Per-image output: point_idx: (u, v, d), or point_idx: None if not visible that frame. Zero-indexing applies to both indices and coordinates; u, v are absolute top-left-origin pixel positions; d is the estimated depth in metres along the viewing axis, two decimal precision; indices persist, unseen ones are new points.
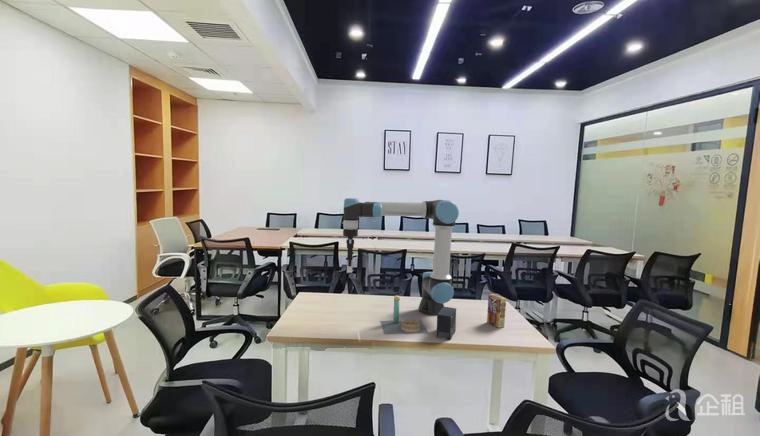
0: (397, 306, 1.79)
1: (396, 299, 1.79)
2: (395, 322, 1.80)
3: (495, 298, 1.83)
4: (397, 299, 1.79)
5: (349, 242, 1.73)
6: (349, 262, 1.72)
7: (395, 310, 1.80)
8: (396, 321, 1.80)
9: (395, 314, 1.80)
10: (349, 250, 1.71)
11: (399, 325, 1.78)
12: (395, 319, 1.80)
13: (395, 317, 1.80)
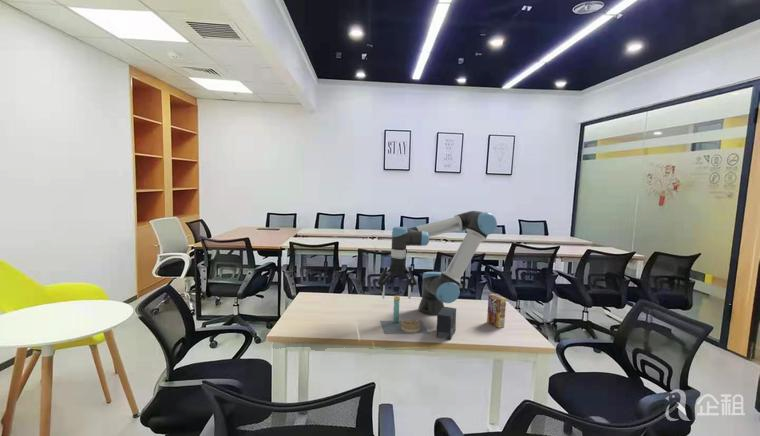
0: (397, 306, 1.79)
1: (396, 299, 1.79)
2: (395, 322, 1.80)
3: (495, 298, 1.83)
4: (397, 299, 1.79)
5: (384, 268, 1.79)
6: None
7: (395, 310, 1.80)
8: (396, 321, 1.80)
9: (395, 314, 1.80)
10: (380, 276, 1.79)
11: (399, 325, 1.78)
12: (395, 319, 1.80)
13: (395, 317, 1.80)
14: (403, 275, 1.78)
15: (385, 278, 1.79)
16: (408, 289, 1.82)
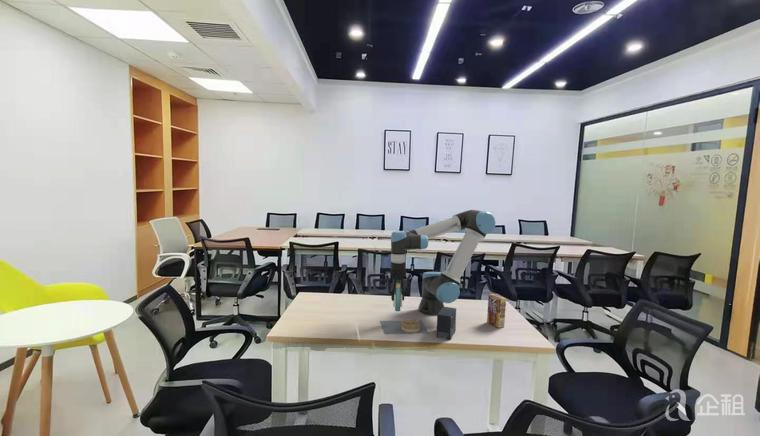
0: (398, 293, 1.79)
1: (397, 286, 1.79)
2: (397, 310, 1.80)
3: (495, 298, 1.83)
4: (398, 286, 1.79)
5: (386, 277, 1.79)
6: (391, 296, 1.80)
7: (396, 297, 1.79)
8: (398, 308, 1.80)
9: (396, 301, 1.79)
10: (387, 285, 1.80)
11: (399, 325, 1.78)
12: (397, 307, 1.80)
13: (397, 305, 1.80)
14: (400, 280, 1.78)
15: (392, 286, 1.80)
16: None
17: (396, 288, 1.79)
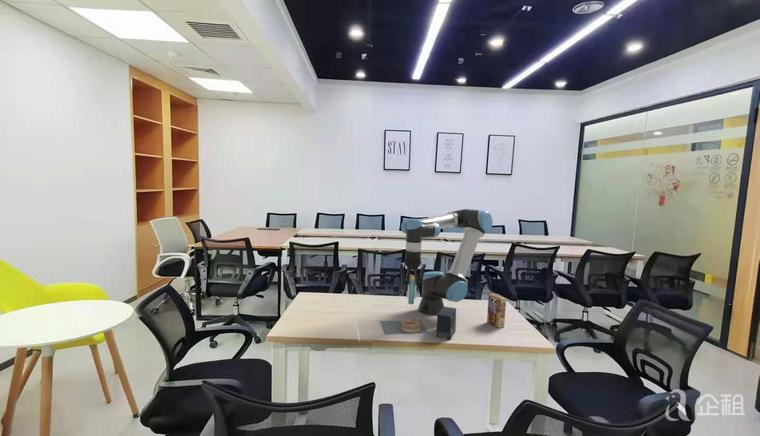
0: (412, 286, 1.71)
1: (411, 278, 1.71)
2: (410, 302, 1.72)
3: (495, 298, 1.83)
4: (412, 278, 1.71)
5: (400, 266, 1.72)
6: (405, 286, 1.73)
7: (410, 290, 1.72)
8: (411, 301, 1.72)
9: (410, 294, 1.72)
10: (401, 274, 1.72)
11: (399, 325, 1.78)
12: (410, 299, 1.72)
13: (410, 297, 1.72)
14: (415, 270, 1.71)
15: (406, 276, 1.72)
16: None
17: (410, 280, 1.71)
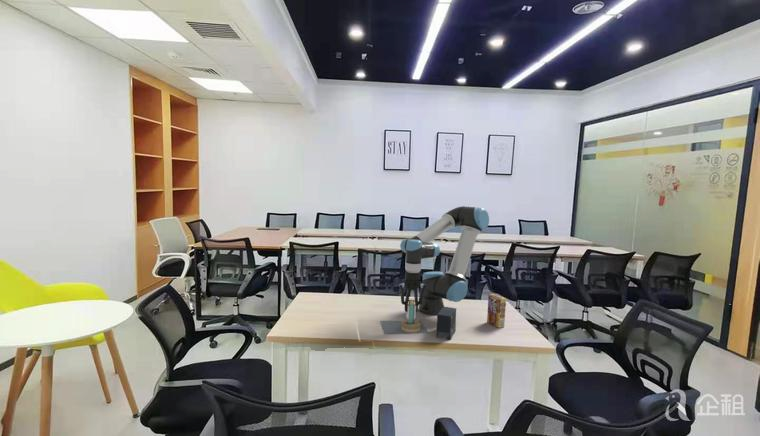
0: (412, 310, 1.72)
1: (411, 303, 1.72)
2: None
3: (495, 298, 1.83)
4: (412, 303, 1.72)
5: (400, 287, 1.72)
6: None
7: (410, 315, 1.72)
8: None
9: (410, 319, 1.72)
10: (401, 295, 1.73)
11: (399, 325, 1.78)
12: None
13: (409, 322, 1.73)
14: (415, 291, 1.71)
15: (406, 297, 1.73)
16: None
17: (410, 305, 1.72)
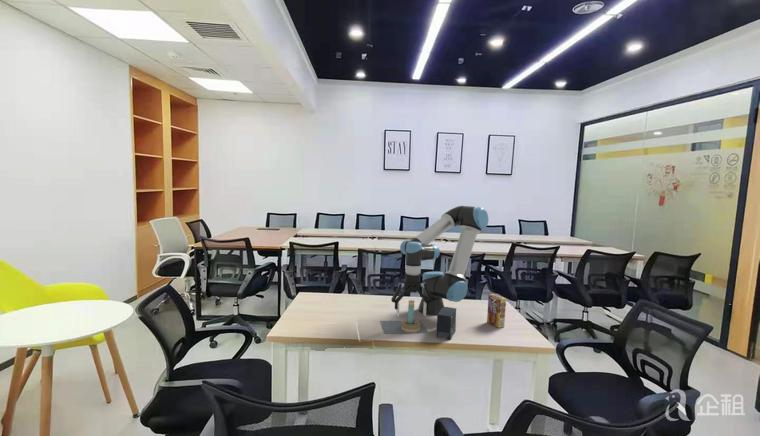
0: (412, 311, 1.72)
1: (411, 304, 1.72)
2: None
3: (495, 298, 1.83)
4: (412, 304, 1.72)
5: (398, 285, 1.72)
6: (395, 305, 1.72)
7: (410, 315, 1.72)
8: None
9: (410, 320, 1.73)
10: (395, 293, 1.72)
11: (399, 325, 1.78)
12: None
13: (409, 323, 1.73)
14: (418, 292, 1.72)
15: (399, 295, 1.72)
16: (423, 306, 1.75)
17: (409, 306, 1.72)
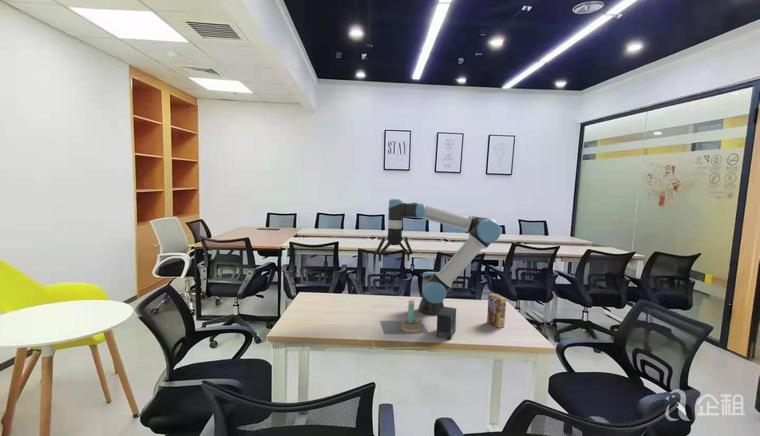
0: (412, 311, 1.72)
1: (411, 304, 1.72)
2: None
3: (495, 298, 1.83)
4: (412, 304, 1.72)
5: None
6: None
7: (410, 315, 1.72)
8: None
9: (410, 320, 1.73)
10: (378, 246, 1.87)
11: (399, 325, 1.78)
12: None
13: (409, 323, 1.73)
14: (400, 245, 1.87)
15: (383, 248, 1.87)
16: None
17: (409, 306, 1.72)
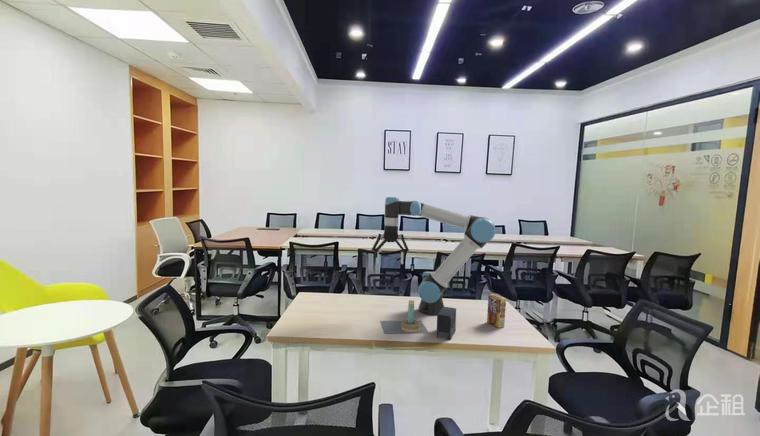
0: (412, 311, 1.72)
1: (411, 304, 1.72)
2: None
3: (495, 298, 1.83)
4: (412, 304, 1.72)
5: (378, 236, 1.91)
6: (375, 253, 1.92)
7: (410, 315, 1.72)
8: None
9: (410, 320, 1.73)
10: (375, 243, 1.91)
11: (399, 325, 1.78)
12: None
13: (409, 323, 1.73)
14: (396, 242, 1.91)
15: (379, 245, 1.92)
16: (401, 255, 1.94)
17: (409, 306, 1.72)
